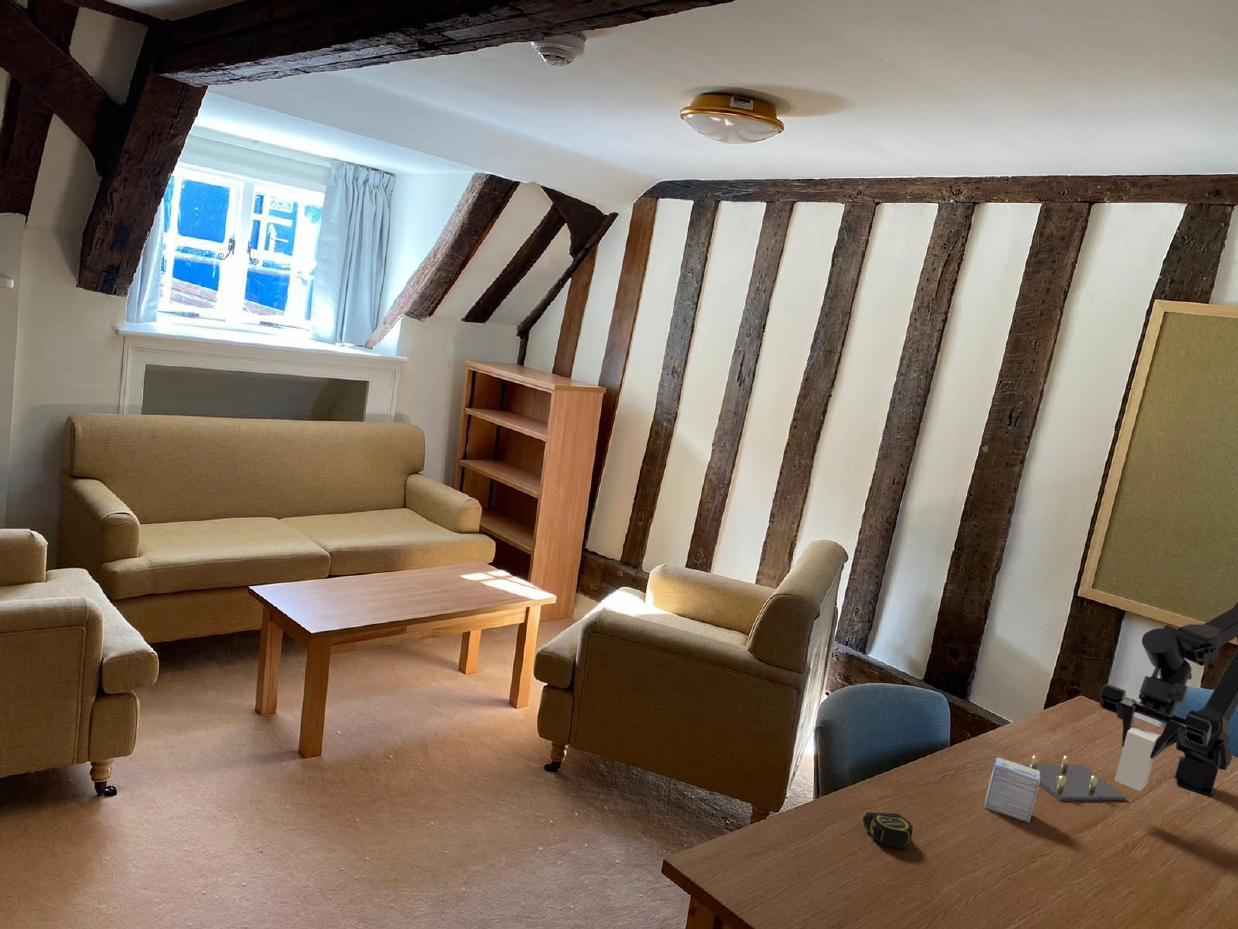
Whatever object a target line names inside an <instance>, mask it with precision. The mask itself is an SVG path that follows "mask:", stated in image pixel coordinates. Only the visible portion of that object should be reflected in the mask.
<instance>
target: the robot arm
mask: <svg viewBox="0 0 1238 929" xmlns="http://www.w3.org/2000/svg"><path fill="white" fill-rule="evenodd" d="M1234 639H1236V640H1237V643H1238V602H1236V603H1235V605H1234V606H1233V608H1230V609H1229V610H1227V611H1225V612H1223V613H1221V614H1219V615H1217V616H1216V617H1214V618H1212V619H1210V620H1209V621H1207V622H1205V623H1202V624H1195V623H1194V624H1191V623H1189V624H1187V625H1183V626H1180V627H1178V628H1177V627H1173V626H1171V625H1168V624H1165V625H1164V627H1163V628H1162V627H1161V628H1155V629H1151V630H1149V631H1147V632H1145V633H1144V634H1143V636H1142V637H1141V644H1142V646H1143V649H1144V651H1145V653H1146V655H1147V657H1148V660H1149V662H1150V664H1151V665H1152V666H1153V667H1154V669H1153V672H1152V673H1151V676H1147V675H1145V676H1144V678H1143V682H1142V685H1141V686H1140V690H1139V694H1138V699H1139V700H1140V701H1139V702H1138V701H1136V700H1135V699H1134V698H1131V697H1129V696H1127V694H1126V691H1127V690H1125V689H1123V688H1120V687H1117V686H1115V685H1112V684H1110V683H1109V684H1108V683H1106V684H1104V685H1102V686H1101V688H1100V690H1099V693H1098V698H1099V707H1100V708H1101V709H1103V710H1106V711H1107V712H1108V711H1109V712H1112V713H1114V714H1116V718H1118V719H1119V720H1122V737H1121V738H1122V739H1121V740H1122V742H1121V746H1122V748H1123V746H1124V743H1125V739H1126V735H1127V732H1128V731H1129V730H1130V729H1131V728H1132V727H1133V726H1134V723H1135V718H1134V716H1135V713H1137V714H1139V715H1142V716H1145V717H1147V718H1150V719H1153V720H1155V721H1158V722H1161V723H1163V724H1165V727H1164V729H1163V731H1162V732H1161V735H1160V737H1159V739H1158V741H1157V743H1156V745H1155V746H1154V748H1153V751H1152V753H1151V756H1150V758H1151V759H1153V758H1154V759H1155V758H1156V757H1157V756H1158V755H1159V754H1161V753H1162V752H1163V751H1165V750H1166V749H1167V748H1169V747H1171V746H1172V745H1174V744H1176V746H1175V747H1176V748H1175V750H1177V751H1180V752H1181V753H1183V754H1182V756H1181V755H1180V756H1178V760H1177V761H1176V762H1177V763H1176V766H1175V770H1174V778H1175V780H1176V785H1177V786H1181V787H1182V788H1186V789H1188V790H1192V791H1195V792H1196V793H1197V792H1198V793H1201V794H1202V795H1203V794H1204V795H1207V796H1210V797H1213V795H1214V792H1213V789H1214V785H1215V782H1216V778H1217V775H1218V772H1219V770H1221V771H1226V770H1227V768H1228V767H1229V765H1230V764H1231V761H1232V759H1233V755H1232V754H1231V753H1232V752H1231V750H1230V747H1229V745H1228V744H1229V742H1230V739H1231V731H1230V720H1231V718H1232V717H1233V715H1234V713H1235V711H1236V709H1237V707H1238V648H1237V650H1236V651H1235V653H1234V655H1233V656H1232V658H1231V660H1230V662H1229V663H1228V665H1227V667H1226V668H1225V670H1224V672H1223V674H1222V676H1221V677H1220V679H1219V681H1218V683H1217V684H1216V686H1215V688H1214V690H1213V691H1212V693H1211V695H1210V696H1209V699H1208V700H1207V702H1206V703H1205V705H1204V707H1203V708H1200V709H1199V710H1197V711H1195V710H1190V711H1189V712H1188V713H1187V715H1186V717H1185V718H1182V717H1179V716H1177V715H1174V712H1175V711H1176V708H1177V706H1178V703H1180V704H1182V703H1183V702H1184V701H1185V698H1186V695H1187V692H1188V688H1189V687H1188V685H1187V683H1188V680H1192V678H1193V673H1192V670H1193V669H1192V667H1191V664H1190V662H1191V663H1194V664H1196V665H1199V666H1201V667H1202V666H1203V667H1204V666H1207V665H1209V664H1210V663H1212V662H1214V660H1215V659H1217V657H1218V656H1219V652H1220V648H1221V647H1222V646H1224V645H1225V644H1227V643H1229V642H1231V641H1232V640H1234ZM1154 759H1153V760H1154Z"/></svg>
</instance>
